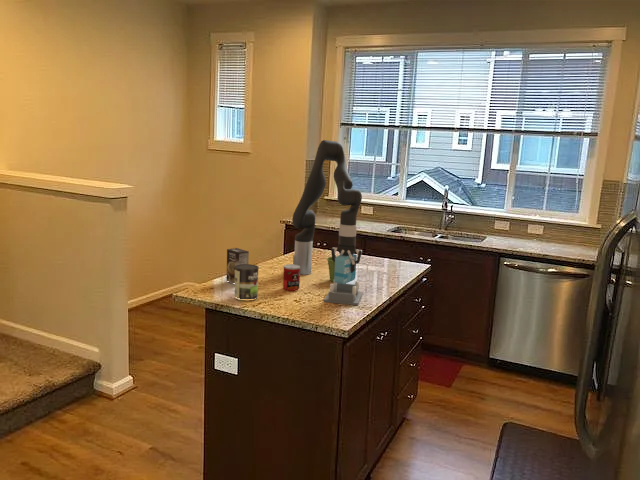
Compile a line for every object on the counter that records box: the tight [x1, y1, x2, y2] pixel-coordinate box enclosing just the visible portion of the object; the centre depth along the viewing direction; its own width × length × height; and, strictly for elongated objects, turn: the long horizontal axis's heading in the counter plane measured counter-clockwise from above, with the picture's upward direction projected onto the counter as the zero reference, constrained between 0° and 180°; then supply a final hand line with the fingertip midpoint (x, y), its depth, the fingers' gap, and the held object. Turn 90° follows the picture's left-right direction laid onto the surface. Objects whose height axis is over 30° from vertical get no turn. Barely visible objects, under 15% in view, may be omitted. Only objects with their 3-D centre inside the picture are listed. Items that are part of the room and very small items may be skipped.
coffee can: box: [234, 263, 260, 299], centre depth 241 cm, size 10×10×14 cm
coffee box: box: [225, 247, 250, 284], centre depth 264 cm, size 9×6×16 cm
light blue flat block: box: [333, 253, 358, 284], centre depth 247 cm, size 12×4×12 cm, turn 149°
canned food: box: [282, 263, 301, 292], centre depth 259 cm, size 8×8×11 cm
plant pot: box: [326, 256, 335, 283], centre depth 278 cm, size 12×12×11 cm
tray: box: [323, 280, 364, 306], centre depth 249 cm, size 15×18×7 cm
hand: (345, 271), depth 247 cm, fingers closed on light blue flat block, 5 cm apart
